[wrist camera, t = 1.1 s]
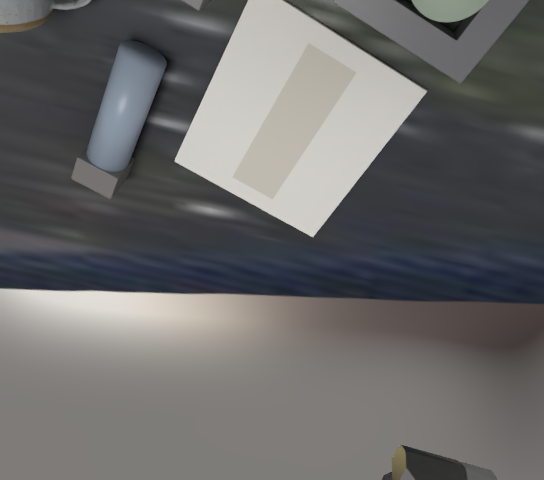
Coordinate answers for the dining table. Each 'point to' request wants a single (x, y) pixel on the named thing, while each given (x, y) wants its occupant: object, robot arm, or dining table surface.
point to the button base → (438, 31)
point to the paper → (294, 115)
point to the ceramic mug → (31, 12)
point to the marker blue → (120, 118)
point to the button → (448, 9)
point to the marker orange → (197, 3)
